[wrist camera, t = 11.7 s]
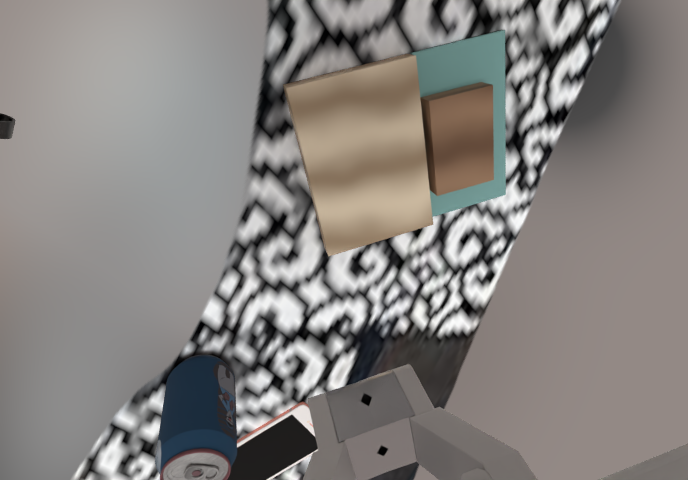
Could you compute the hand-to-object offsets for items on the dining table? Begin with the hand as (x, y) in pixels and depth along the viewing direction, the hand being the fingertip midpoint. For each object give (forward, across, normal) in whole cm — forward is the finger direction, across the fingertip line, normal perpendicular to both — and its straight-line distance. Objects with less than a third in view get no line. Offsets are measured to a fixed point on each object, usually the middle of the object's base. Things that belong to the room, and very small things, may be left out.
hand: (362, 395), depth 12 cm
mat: (+29, -18, +4) cm, 34 cm away
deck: (+29, -8, +4) cm, 30 cm away
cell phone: (+30, +12, +39) cm, 50 cm away
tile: (+29, -17, +4) cm, 34 cm away
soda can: (+29, +14, +23) cm, 40 cm away
